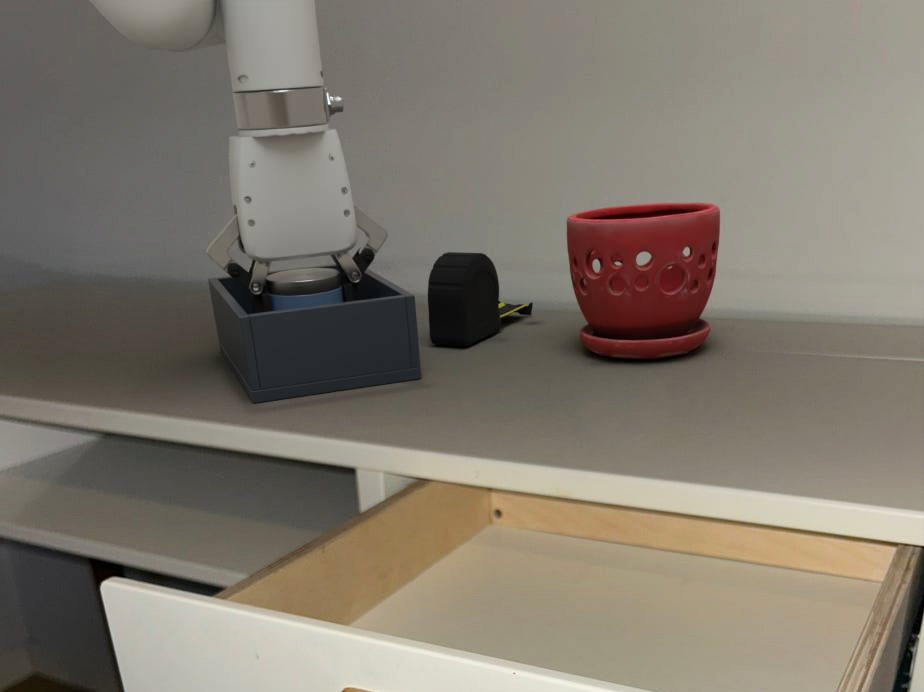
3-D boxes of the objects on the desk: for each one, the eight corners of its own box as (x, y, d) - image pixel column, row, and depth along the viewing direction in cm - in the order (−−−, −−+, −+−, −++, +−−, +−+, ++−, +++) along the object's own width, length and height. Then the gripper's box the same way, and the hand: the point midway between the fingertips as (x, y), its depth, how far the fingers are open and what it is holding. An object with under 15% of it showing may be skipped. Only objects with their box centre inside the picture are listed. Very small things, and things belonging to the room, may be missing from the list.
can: (283, 366, 95) (271, 284, 91) (270, 350, 100) (259, 273, 97) (356, 356, 97) (347, 275, 93) (340, 341, 102) (331, 265, 99)
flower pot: (730, 335, 100) (738, 197, 94) (690, 371, 89) (695, 218, 84) (599, 329, 105) (598, 198, 99) (546, 362, 95) (542, 218, 89)
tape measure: (466, 349, 101) (460, 260, 97) (426, 346, 102) (419, 259, 99) (533, 316, 112) (530, 235, 108) (496, 314, 114) (492, 235, 110)
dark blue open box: (253, 403, 88) (239, 317, 85) (220, 351, 106) (207, 278, 102) (421, 378, 92) (414, 295, 89) (363, 332, 109) (355, 261, 106)
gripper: (371, 106, 94) (390, 312, 103) (171, 121, 90) (209, 336, 98) (394, 107, 88) (412, 327, 97) (180, 123, 83) (219, 353, 92)
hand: (309, 330), depth 97 cm, fingers closed on can, 6 cm apart
